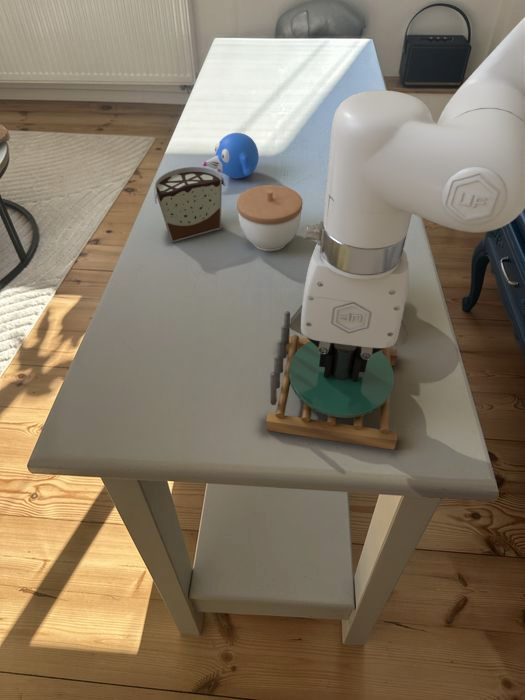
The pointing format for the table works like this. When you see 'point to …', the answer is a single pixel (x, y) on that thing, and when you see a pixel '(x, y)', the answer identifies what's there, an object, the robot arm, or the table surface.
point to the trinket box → (269, 216)
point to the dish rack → (305, 424)
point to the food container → (190, 201)
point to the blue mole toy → (235, 156)
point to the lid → (340, 381)
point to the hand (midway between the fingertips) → (341, 369)
